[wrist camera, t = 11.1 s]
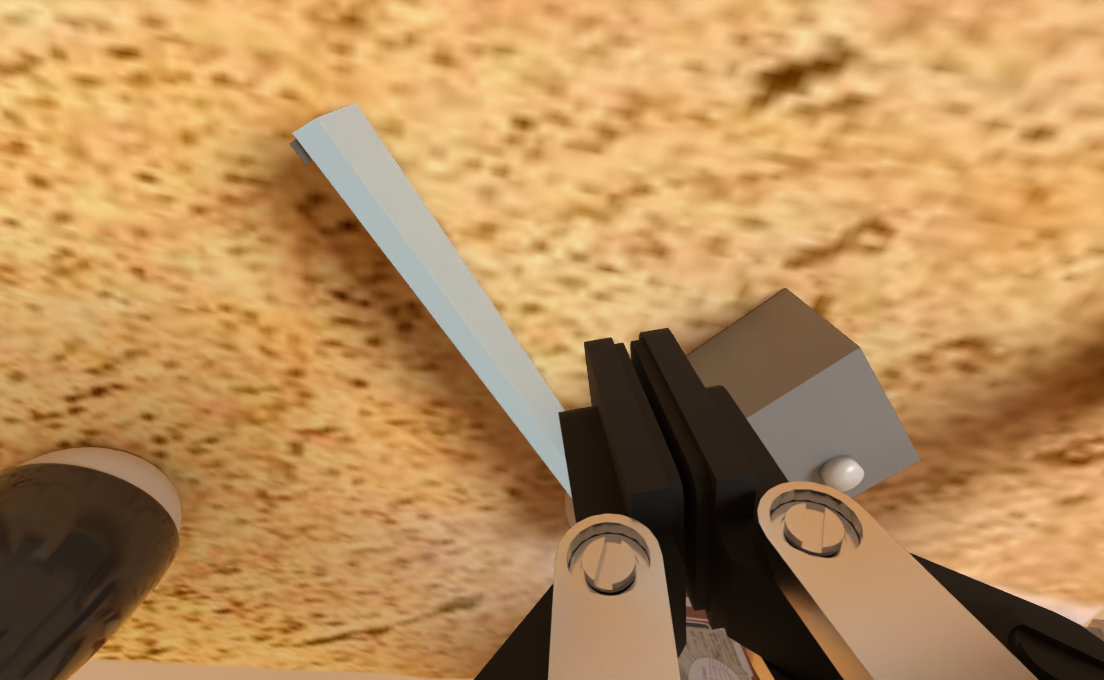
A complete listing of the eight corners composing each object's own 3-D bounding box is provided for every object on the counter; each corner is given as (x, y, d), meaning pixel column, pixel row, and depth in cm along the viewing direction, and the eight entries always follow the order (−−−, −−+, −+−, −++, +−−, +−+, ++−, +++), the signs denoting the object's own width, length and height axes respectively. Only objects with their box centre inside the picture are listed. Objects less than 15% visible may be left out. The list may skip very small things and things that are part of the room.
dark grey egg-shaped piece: (-23, 445, 30) (-429, 759, 17) (143, 401, 29) (-137, 683, 16) (97, 552, 35) (-140, 855, 22) (239, 515, 34) (86, 799, 21)
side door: (331, 118, 23) (280, 139, 17) (358, 101, 23) (316, 117, 17) (560, 439, 34) (574, 515, 28) (580, 429, 34) (598, 504, 28)
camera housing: (785, 288, 30) (871, 356, 23) (845, 388, 35) (931, 470, 28) (535, 458, 35) (546, 556, 28) (616, 528, 39) (642, 626, 32)
